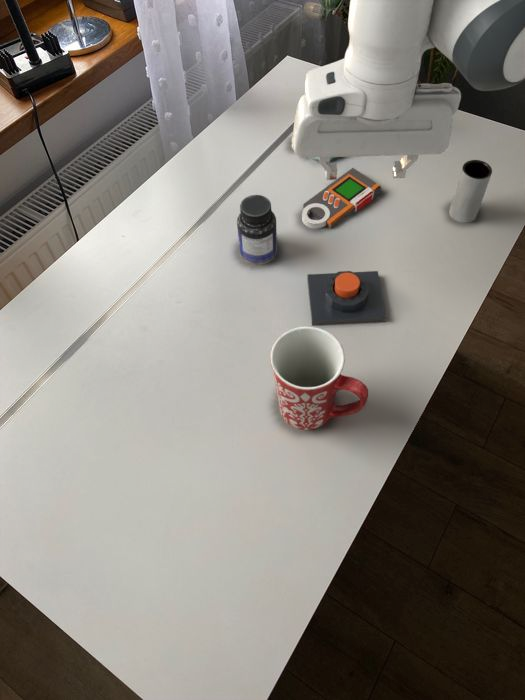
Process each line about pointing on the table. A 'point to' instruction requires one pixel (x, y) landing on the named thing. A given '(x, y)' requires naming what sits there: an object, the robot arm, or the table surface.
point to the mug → (312, 378)
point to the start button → (347, 285)
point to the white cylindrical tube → (470, 190)
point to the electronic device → (340, 200)
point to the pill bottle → (257, 230)
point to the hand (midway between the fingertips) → (364, 176)
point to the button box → (345, 300)
